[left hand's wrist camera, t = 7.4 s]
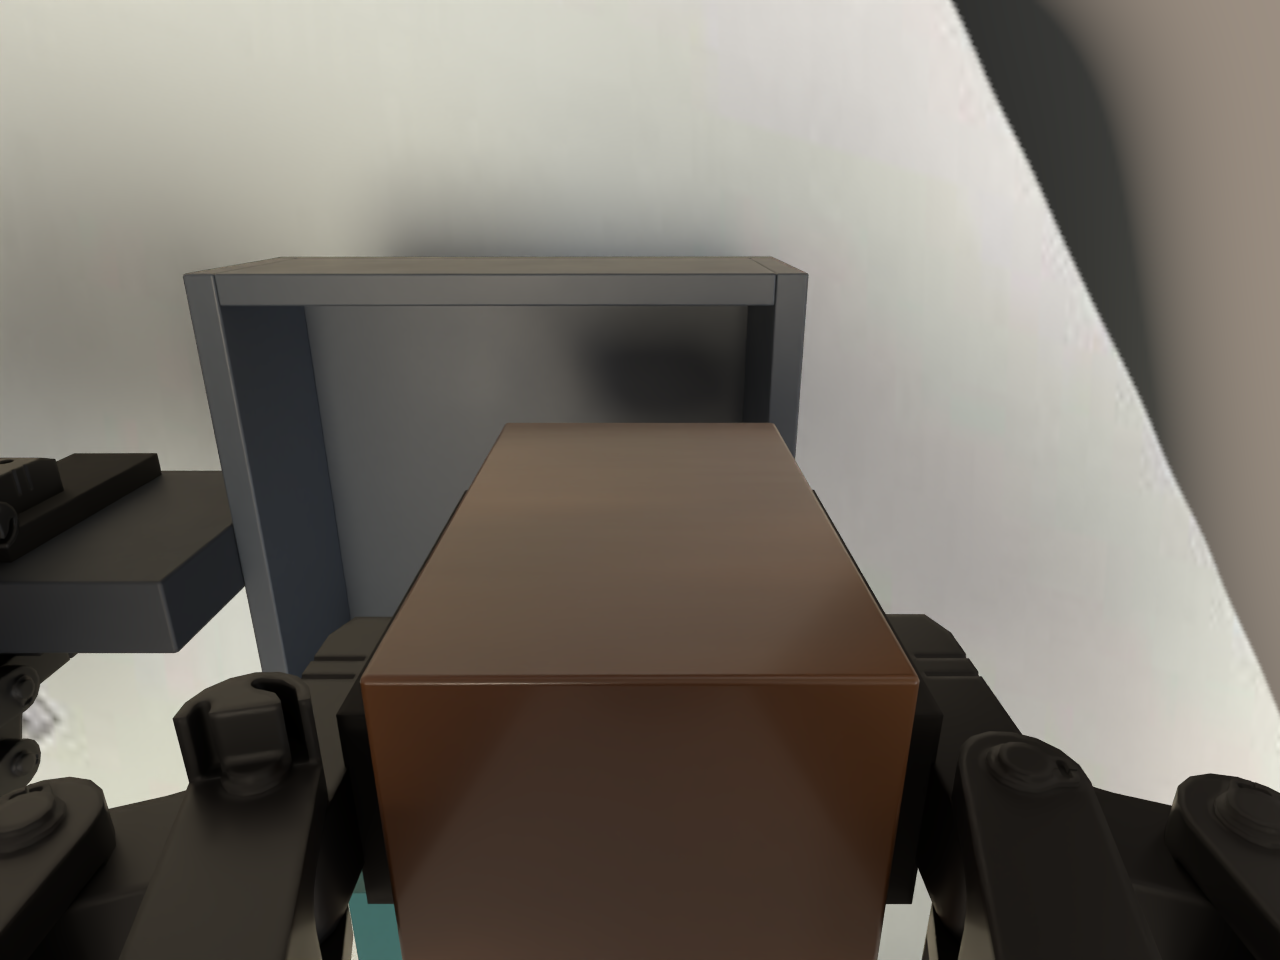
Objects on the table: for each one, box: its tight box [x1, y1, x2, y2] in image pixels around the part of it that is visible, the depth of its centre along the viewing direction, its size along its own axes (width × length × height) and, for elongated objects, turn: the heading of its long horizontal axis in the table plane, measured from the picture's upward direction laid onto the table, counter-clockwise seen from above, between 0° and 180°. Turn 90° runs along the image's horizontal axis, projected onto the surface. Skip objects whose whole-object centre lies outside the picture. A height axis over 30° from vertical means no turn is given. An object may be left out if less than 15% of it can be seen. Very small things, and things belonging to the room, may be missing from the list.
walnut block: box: [360, 423, 919, 960], centre depth 11 cm, size 5×5×8 cm
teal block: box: [349, 871, 402, 960], centre depth 41 cm, size 5×5×8 cm
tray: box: [0, 257, 808, 679], centre depth 23 cm, size 25×16×9 cm, turn 90°
